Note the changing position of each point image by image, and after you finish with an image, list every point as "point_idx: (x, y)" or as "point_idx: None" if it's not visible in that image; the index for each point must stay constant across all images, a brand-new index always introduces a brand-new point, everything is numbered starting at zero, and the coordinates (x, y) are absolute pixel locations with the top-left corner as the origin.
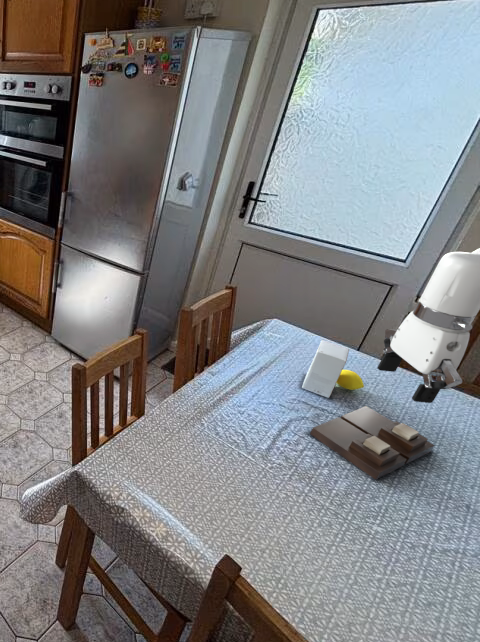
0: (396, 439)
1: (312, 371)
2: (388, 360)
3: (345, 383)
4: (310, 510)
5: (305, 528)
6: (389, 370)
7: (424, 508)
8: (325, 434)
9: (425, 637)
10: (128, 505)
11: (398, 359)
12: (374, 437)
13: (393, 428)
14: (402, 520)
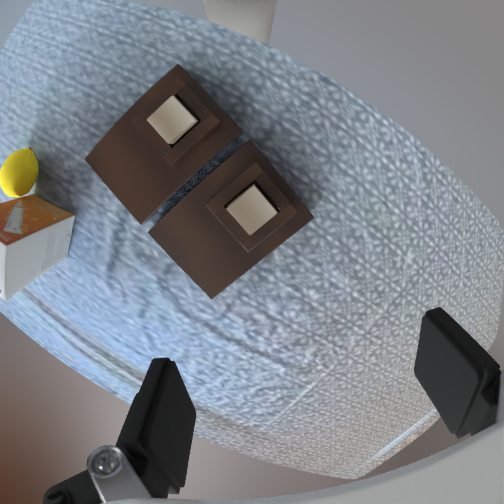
0: (197, 142)
1: (40, 272)
2: (181, 459)
3: (31, 182)
4: (393, 333)
5: (416, 342)
6: (182, 386)
7: (356, 159)
8: (225, 282)
9: (499, 265)
10: (391, 455)
11: (159, 442)
12: (233, 211)
13: (170, 143)
14: (390, 212)
